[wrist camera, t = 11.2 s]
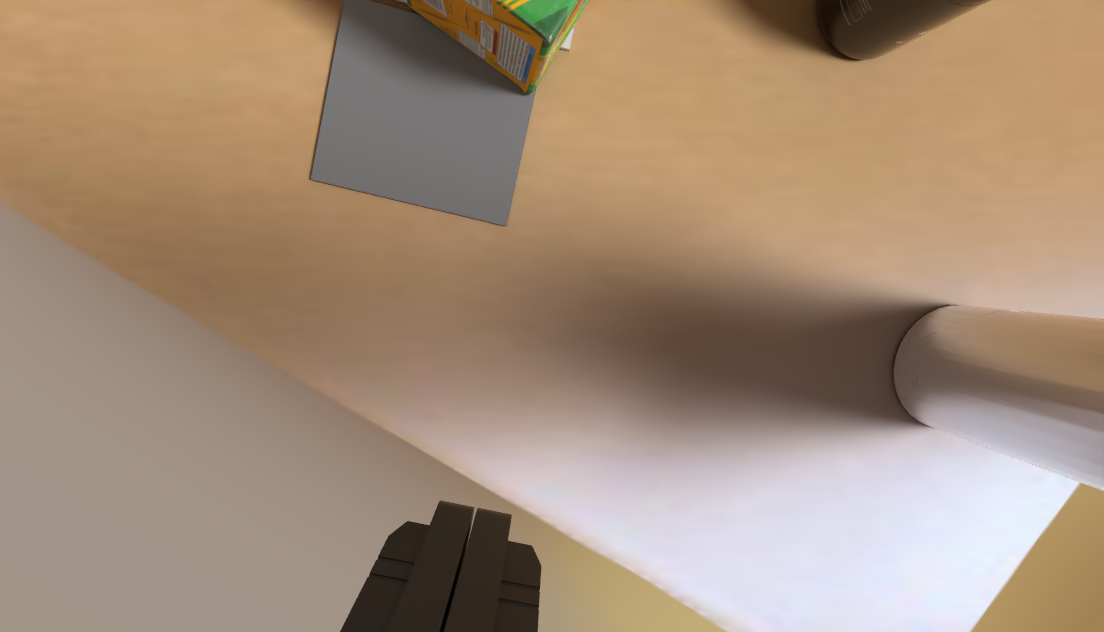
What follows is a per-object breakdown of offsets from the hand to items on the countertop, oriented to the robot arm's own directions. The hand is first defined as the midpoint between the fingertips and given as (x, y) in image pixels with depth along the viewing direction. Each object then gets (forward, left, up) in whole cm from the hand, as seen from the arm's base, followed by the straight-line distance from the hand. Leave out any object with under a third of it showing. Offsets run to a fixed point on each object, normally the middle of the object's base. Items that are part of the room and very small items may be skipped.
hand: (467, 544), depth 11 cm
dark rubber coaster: (+6, -14, -24) cm, 28 cm away
